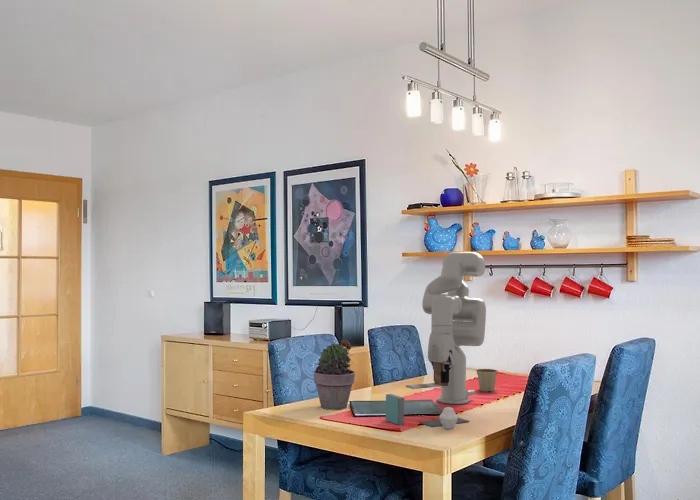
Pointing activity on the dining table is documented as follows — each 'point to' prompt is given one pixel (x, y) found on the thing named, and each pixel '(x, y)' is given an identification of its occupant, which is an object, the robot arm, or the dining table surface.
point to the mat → (438, 423)
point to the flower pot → (486, 379)
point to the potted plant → (334, 376)
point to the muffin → (448, 418)
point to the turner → (436, 379)
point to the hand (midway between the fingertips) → (441, 381)
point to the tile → (395, 409)
